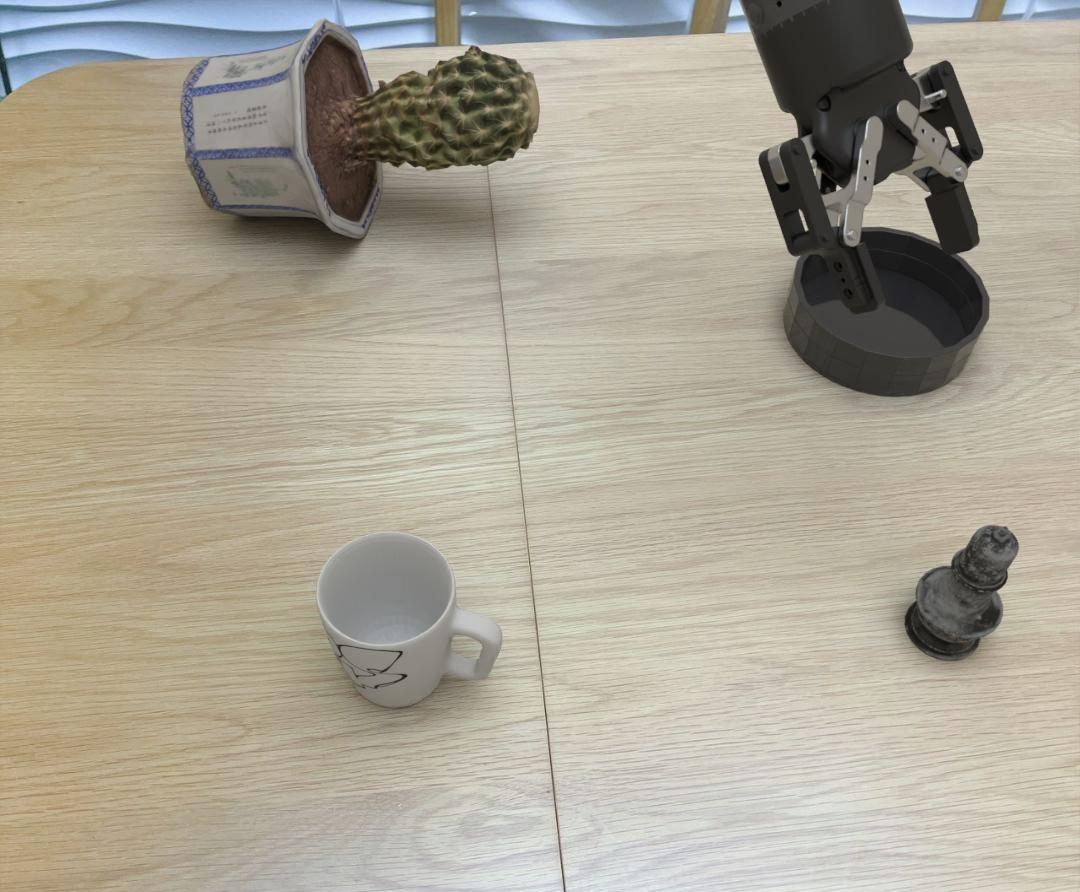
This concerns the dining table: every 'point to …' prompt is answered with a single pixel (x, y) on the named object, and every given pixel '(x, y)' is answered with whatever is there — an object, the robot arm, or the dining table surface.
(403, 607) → the mug
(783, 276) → the dining table surface
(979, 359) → the dining table surface
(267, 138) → the potted plant
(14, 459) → the dining table surface
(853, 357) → the pan
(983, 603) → the grey chess piece
